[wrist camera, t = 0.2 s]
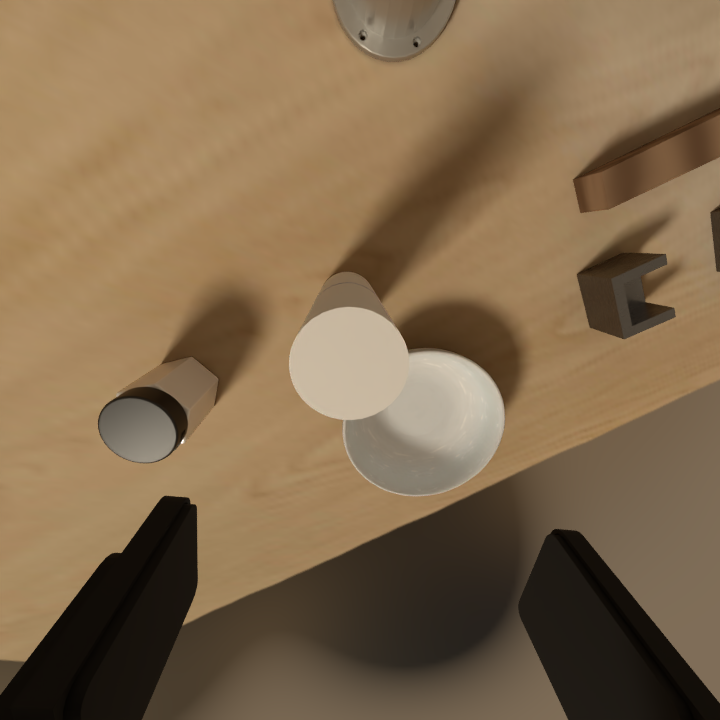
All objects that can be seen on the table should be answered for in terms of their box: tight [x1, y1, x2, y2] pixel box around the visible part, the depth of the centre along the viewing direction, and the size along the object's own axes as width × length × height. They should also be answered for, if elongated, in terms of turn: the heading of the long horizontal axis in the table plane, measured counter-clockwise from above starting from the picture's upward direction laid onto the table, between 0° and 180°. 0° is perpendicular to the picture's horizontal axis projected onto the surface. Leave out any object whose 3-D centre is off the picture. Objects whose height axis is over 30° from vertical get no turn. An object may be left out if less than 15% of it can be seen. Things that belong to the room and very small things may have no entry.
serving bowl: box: [343, 348, 505, 496], centre depth 46 cm, size 21×21×7 cm
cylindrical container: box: [289, 272, 409, 420], centre depth 32 cm, size 7×7×25 cm
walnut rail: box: [573, 108, 720, 213], centre depth 38 cm, size 19×4×5 cm, turn 115°
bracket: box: [577, 253, 676, 339], centre depth 42 cm, size 6×8×6 cm
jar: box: [98, 357, 219, 463], centre depth 41 cm, size 9×8×12 cm
